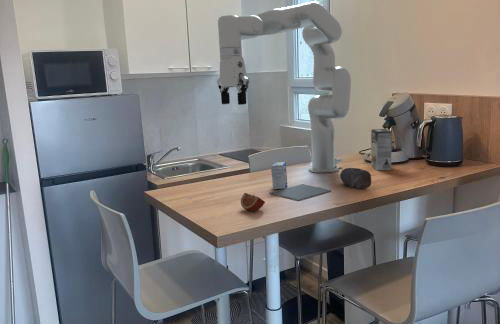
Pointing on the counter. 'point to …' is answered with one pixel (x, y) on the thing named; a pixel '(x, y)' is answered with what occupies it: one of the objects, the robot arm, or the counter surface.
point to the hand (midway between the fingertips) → (233, 104)
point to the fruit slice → (251, 202)
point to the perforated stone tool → (356, 178)
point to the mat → (300, 192)
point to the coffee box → (381, 149)
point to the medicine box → (279, 175)
